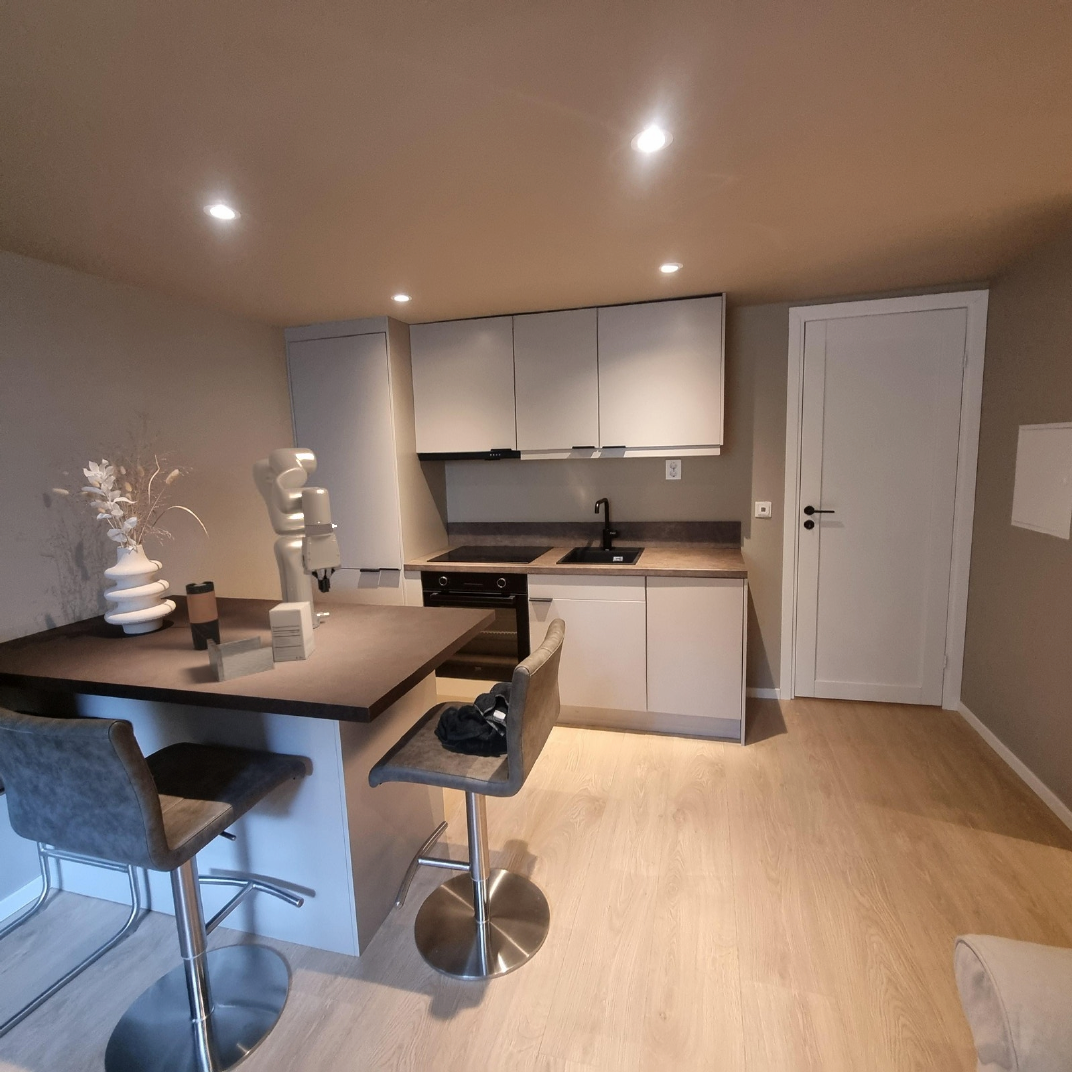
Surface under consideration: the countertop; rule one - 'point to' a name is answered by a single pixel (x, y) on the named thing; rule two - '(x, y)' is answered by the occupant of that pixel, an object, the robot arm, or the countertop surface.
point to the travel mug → (203, 614)
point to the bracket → (239, 658)
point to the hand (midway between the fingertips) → (324, 591)
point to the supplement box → (292, 631)
